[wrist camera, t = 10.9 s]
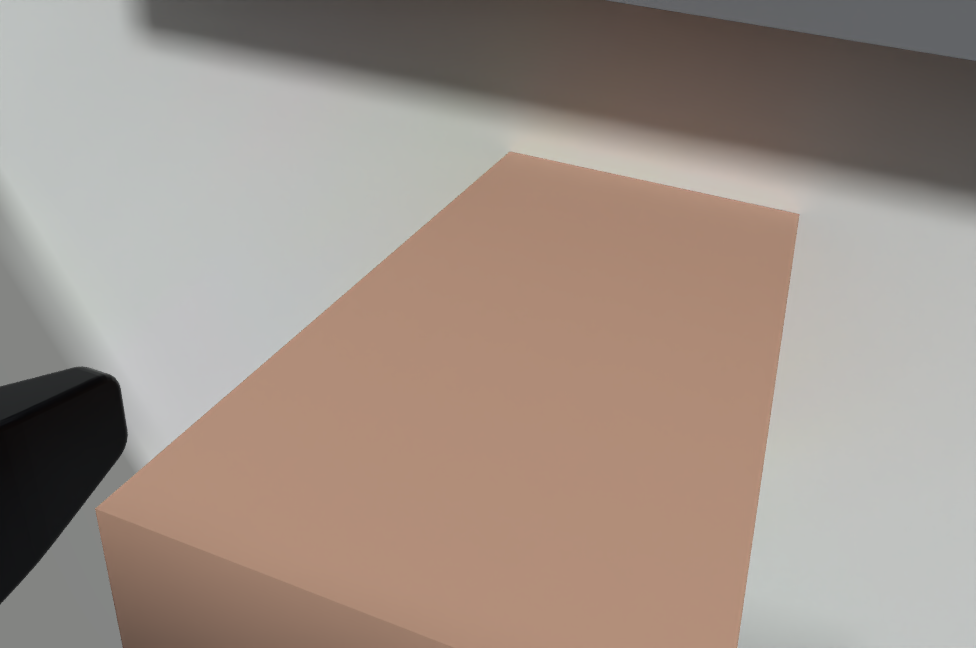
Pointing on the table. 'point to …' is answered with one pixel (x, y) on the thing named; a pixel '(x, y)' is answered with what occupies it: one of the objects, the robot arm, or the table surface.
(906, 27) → the pocket plate
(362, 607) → the tan rectangular block
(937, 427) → the table surface
